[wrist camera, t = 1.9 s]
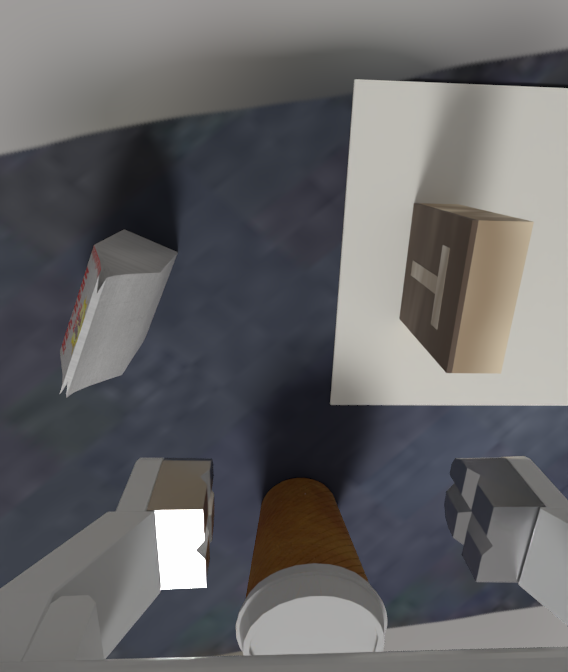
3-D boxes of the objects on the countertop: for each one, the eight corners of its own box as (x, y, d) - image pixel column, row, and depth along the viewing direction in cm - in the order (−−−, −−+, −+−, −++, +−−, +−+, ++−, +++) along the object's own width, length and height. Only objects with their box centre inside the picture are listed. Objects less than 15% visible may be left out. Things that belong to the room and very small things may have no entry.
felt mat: (671, 93, 29) (674, 92, 29) (580, 404, 37) (582, 405, 37) (354, 79, 28) (354, 79, 28) (330, 403, 36) (330, 404, 36)
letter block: (458, 204, 31) (533, 221, 22) (440, 319, 33) (500, 373, 25) (413, 202, 30) (472, 220, 22) (399, 318, 33) (446, 373, 25)
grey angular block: (177, 252, 31) (142, 292, 22) (145, 338, 33) (99, 409, 24) (124, 229, 30) (64, 260, 21) (94, 318, 32) (27, 383, 23)
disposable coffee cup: (227, 477, 38) (213, 612, 27) (341, 448, 37) (375, 573, 26) (260, 562, 41) (260, 713, 30) (365, 536, 41) (405, 680, 29)
